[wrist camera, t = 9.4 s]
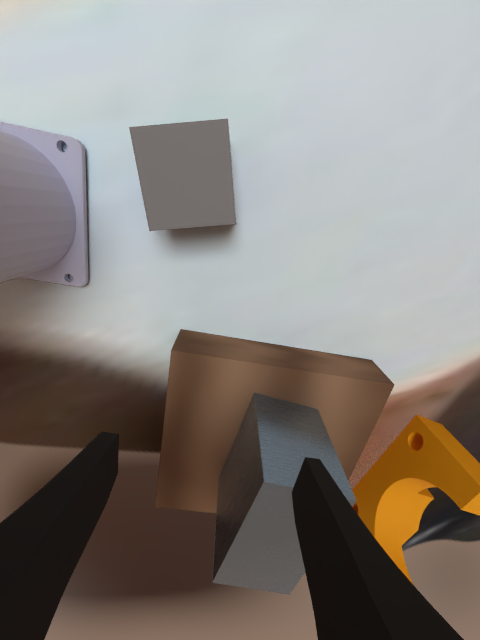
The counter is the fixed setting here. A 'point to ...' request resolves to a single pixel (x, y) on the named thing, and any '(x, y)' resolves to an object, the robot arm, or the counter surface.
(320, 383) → the walnut stand
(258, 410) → the block
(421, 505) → the pipe clamp
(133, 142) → the grey rubber block
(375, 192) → the counter surface
